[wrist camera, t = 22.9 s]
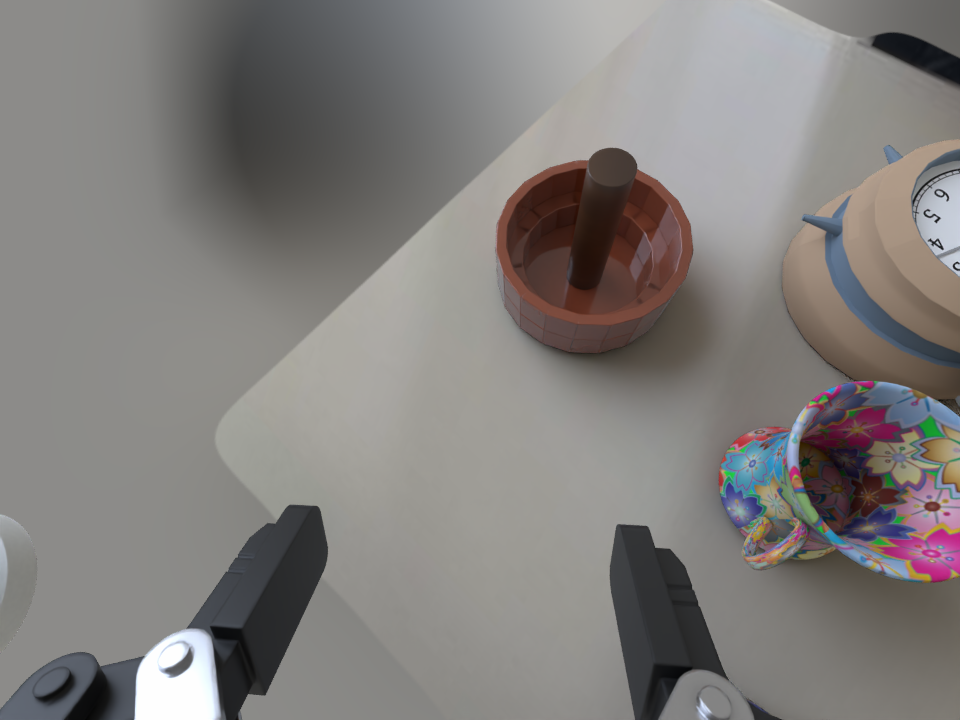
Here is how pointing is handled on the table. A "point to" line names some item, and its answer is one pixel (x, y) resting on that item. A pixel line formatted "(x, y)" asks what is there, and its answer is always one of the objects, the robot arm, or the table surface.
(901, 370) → the alarm clock
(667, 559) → the robot arm
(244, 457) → the table surface
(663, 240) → the bowl
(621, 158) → the stick
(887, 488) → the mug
